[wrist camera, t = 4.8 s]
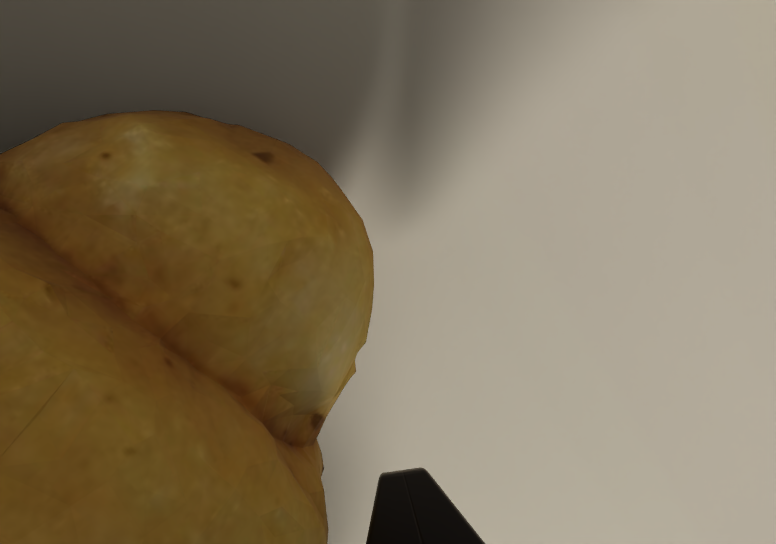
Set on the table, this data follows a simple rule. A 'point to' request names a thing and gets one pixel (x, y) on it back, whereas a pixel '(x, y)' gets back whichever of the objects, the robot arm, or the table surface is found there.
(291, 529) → the bread roll
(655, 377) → the table surface
